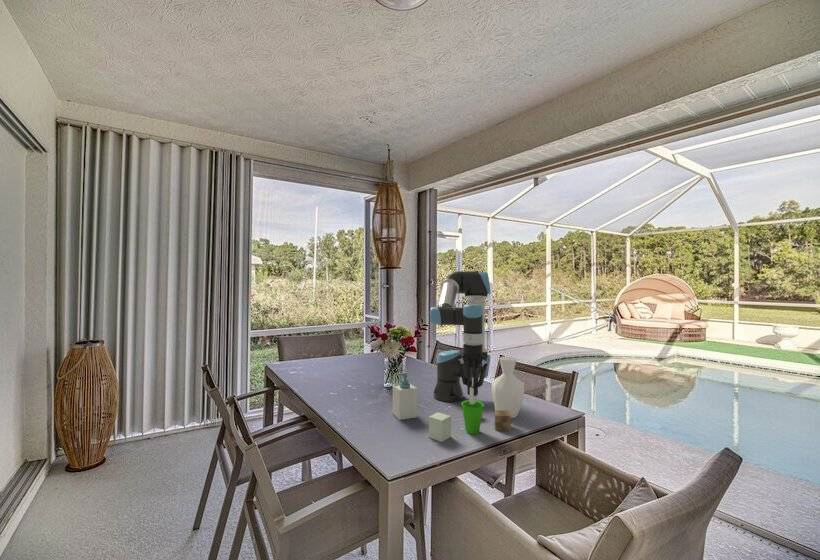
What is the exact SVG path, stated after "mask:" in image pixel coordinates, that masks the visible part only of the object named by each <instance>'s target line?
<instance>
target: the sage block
mask: <svg viewBox="0 0 820 560" xmlns="http://www.w3.org/2000/svg"><path fill="white" fill-rule="evenodd" d="M451 437H452V415H448V414H445V413H442V412H435V413H434V414H432V415H429V416H428V438H429V439H432V440H435V441H438V442H440V443H443V442H444V441H446V440H448V439H449V438H451Z"/></svg>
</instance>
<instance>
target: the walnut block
mask: <svg viewBox="0 0 820 560" xmlns="http://www.w3.org/2000/svg"><path fill="white" fill-rule="evenodd" d="M511 423H512V418H511V415H510V411H501V410H495V409H494V431H501V432H502V431H503V432H511V430H512V429H511V427H512V426H511V425H512V424H511Z"/></svg>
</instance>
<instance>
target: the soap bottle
mask: <svg viewBox="0 0 820 560" xmlns="http://www.w3.org/2000/svg"><path fill="white" fill-rule="evenodd" d="M408 374H410V371H405V372H397V373H395V376H402V377H403V379H402V380H401V382H400V383H399V384H398V383H397V384H393V385H392V414H393V415H394V417H396V418H397V419H398V420H399V421H403V420H408V419H414V418H418V416H419V415H418V413H419V412H418V410H419V408H418V407H419V405H418V404H419V403H418V401H419V400H418V398H419V397H418V396H419V395H418V392H419V391H418V390H419V388H418V387H417V386H415V385H414V384H412V383H411V382H409V380H408V379H407V378H408Z"/></svg>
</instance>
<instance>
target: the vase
mask: <svg viewBox="0 0 820 560" xmlns="http://www.w3.org/2000/svg"><path fill="white" fill-rule="evenodd" d="M517 359H518V358H516V357H512V356H501V357H499V362H500V367H501V370H502V374H500V375H499V376H497V377H496V378H494V379H493V380H492V381H491V396H492V401H493V405H494V411H495V410H501V411H510V415H511V419H514V418H517V417H518V415H519V412H520V410H521V407H522V405H523V401H524V397H525V383H524V382H523V381H522V380H520V379H519V378H518V377H517V376H515V375H514V370H515V366H516V364H517Z"/></svg>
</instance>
